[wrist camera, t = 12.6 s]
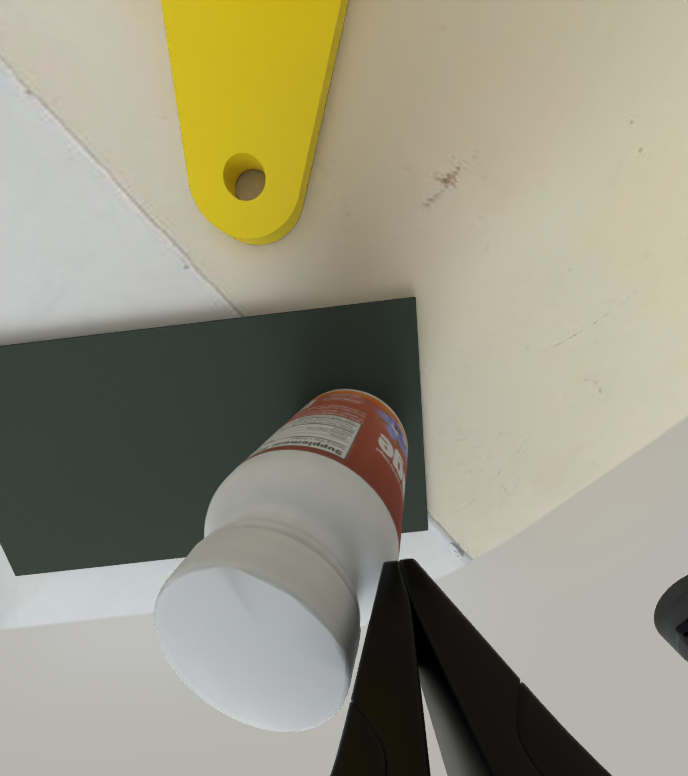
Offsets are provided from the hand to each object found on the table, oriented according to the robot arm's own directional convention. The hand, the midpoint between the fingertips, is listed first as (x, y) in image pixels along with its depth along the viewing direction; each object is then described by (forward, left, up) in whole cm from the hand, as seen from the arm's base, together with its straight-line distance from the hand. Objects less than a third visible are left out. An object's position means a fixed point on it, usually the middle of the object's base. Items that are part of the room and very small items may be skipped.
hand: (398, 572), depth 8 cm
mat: (+5, +8, -11) cm, 14 cm away
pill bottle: (0, +1, -9) cm, 9 cm away
